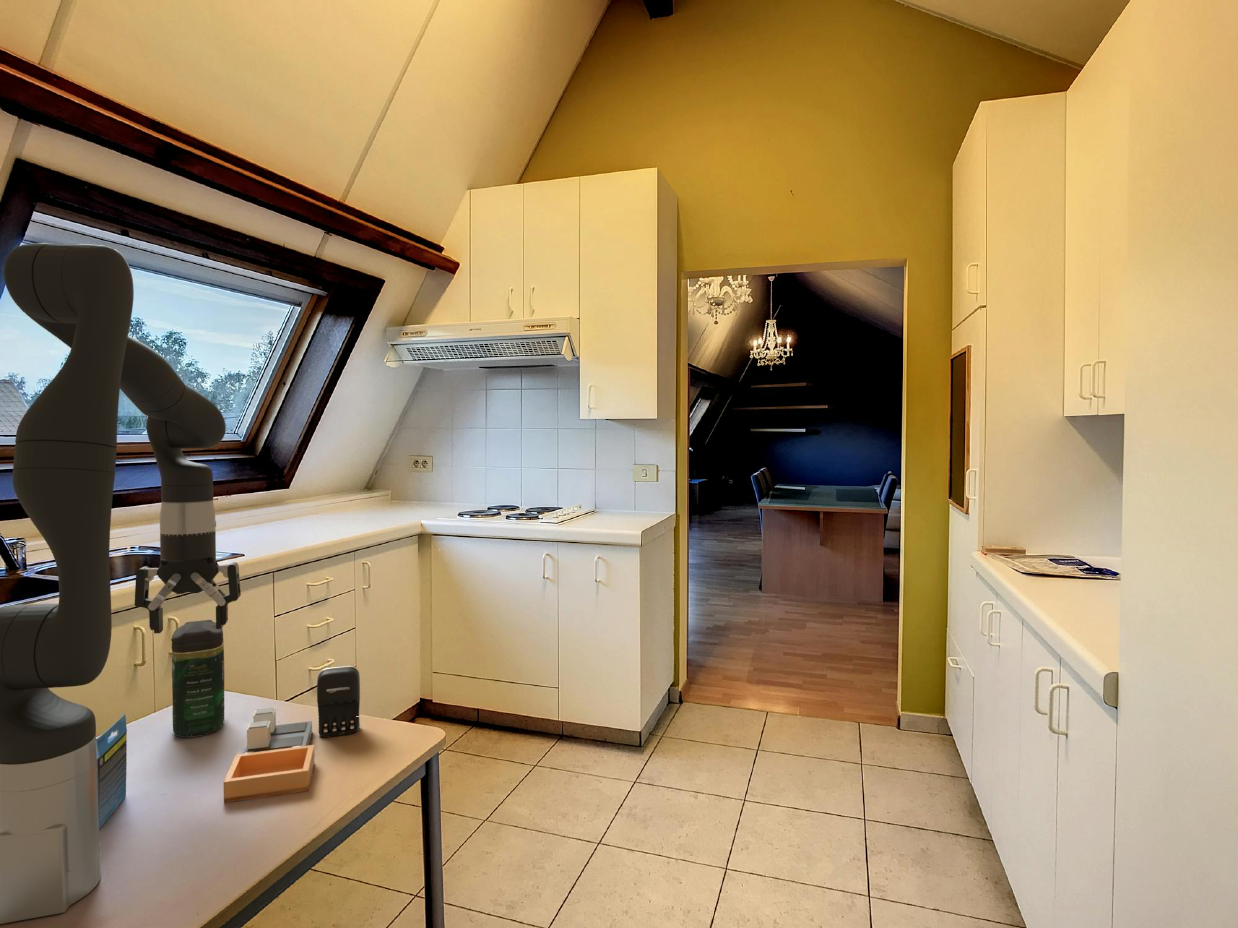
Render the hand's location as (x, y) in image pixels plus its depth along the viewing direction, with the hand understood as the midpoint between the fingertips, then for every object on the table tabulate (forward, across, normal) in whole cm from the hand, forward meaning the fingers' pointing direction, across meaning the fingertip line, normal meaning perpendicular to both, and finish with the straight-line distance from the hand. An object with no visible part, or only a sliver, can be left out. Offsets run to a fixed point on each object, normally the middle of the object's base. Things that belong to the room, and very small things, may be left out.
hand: (189, 629), depth 110 cm
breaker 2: (+18, +10, -4) cm, 21 cm away
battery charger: (+21, +22, +2) cm, 30 cm away
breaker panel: (+21, +13, -2) cm, 24 cm away
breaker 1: (+18, +10, +1) cm, 21 cm away
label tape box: (+21, -8, -15) cm, 27 cm away
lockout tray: (+21, +13, -13) cm, 28 cm away
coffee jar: (+21, -1, +12) cm, 24 cm away
